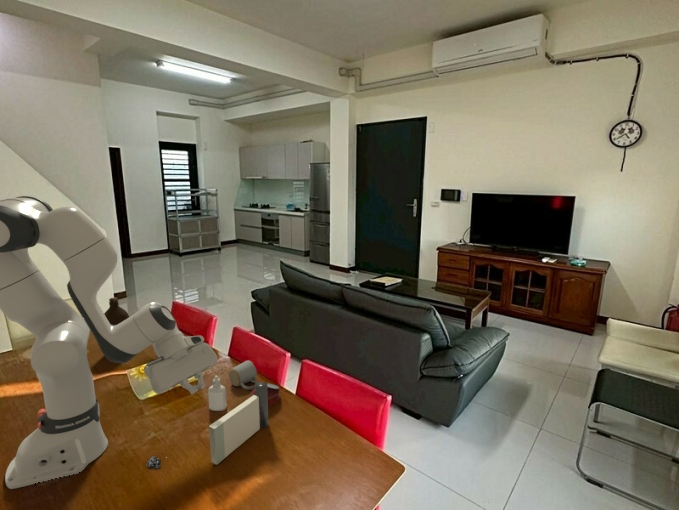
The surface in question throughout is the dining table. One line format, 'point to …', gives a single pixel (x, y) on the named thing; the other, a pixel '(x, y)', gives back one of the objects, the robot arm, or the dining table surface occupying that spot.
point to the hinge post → (262, 403)
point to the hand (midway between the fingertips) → (198, 390)
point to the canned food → (269, 393)
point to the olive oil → (115, 312)
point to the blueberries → (154, 463)
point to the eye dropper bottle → (217, 396)
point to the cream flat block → (234, 429)
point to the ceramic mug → (243, 374)
